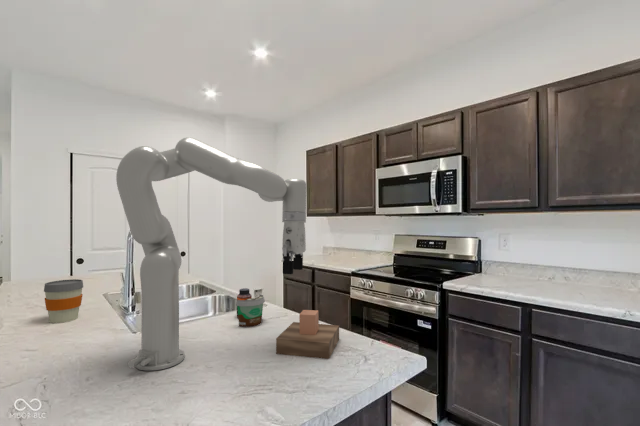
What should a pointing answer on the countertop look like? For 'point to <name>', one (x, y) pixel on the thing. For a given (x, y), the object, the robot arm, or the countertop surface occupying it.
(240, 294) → the supplement bottle
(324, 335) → the walnut block
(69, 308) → the reusable coffee cup
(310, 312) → the terracotta block
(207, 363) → the countertop surface
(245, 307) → the food container
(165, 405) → the countertop surface
